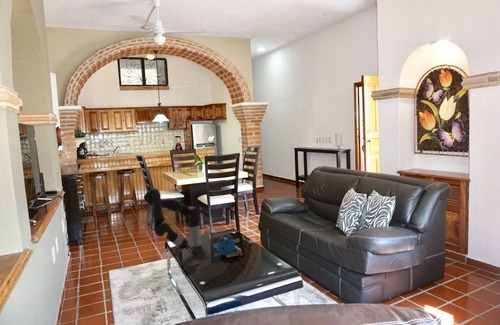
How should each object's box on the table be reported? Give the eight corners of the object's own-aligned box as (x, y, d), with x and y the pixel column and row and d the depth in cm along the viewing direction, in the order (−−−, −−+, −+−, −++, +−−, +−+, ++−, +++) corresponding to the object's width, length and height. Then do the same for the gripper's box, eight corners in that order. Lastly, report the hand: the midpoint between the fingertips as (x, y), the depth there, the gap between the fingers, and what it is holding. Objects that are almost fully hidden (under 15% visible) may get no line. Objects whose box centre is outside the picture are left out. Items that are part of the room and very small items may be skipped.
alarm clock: (233, 251, 282) (231, 233, 281) (236, 254, 276) (234, 235, 275) (217, 255, 277) (215, 236, 275) (220, 257, 271) (218, 238, 270)
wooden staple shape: (220, 252, 283) (220, 247, 282) (234, 249, 288) (234, 244, 287) (227, 258, 268) (227, 253, 268) (242, 255, 273) (241, 250, 273)
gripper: (174, 243, 266) (192, 256, 272) (178, 248, 254) (196, 261, 260) (180, 235, 268) (198, 247, 274) (185, 239, 256) (203, 252, 262)
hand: (197, 254), depth 267 cm, fingers closed
